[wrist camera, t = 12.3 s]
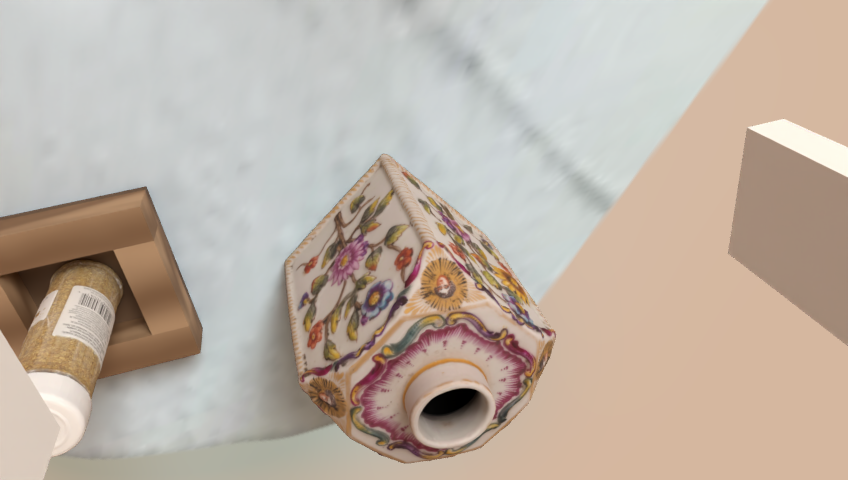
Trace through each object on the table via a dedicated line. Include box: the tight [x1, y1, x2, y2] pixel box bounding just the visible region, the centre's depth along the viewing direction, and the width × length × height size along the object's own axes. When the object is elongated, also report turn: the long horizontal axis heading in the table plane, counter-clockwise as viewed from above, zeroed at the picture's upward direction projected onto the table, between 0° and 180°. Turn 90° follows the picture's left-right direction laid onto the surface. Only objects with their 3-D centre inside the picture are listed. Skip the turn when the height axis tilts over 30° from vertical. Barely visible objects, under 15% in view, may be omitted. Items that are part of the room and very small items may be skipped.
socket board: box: [0, 187, 203, 379], centre depth 42 cm, size 12×12×3 cm
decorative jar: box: [285, 154, 556, 463], centre depth 41 cm, size 12×12×18 cm
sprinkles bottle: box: [18, 260, 123, 457], centre depth 37 cm, size 5×5×14 cm
